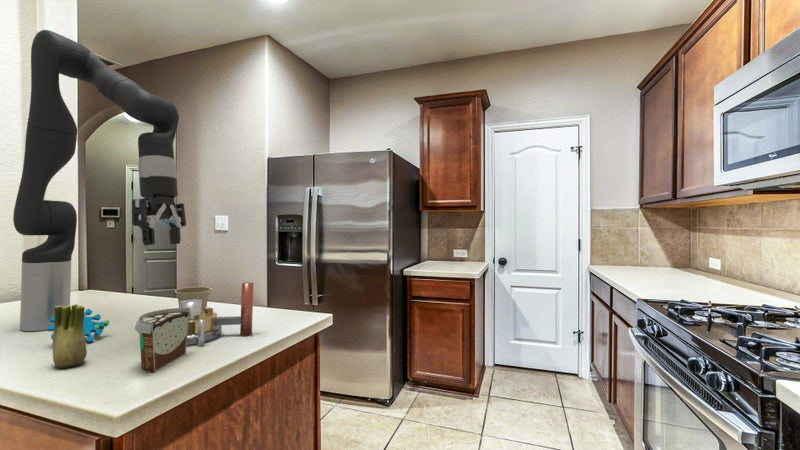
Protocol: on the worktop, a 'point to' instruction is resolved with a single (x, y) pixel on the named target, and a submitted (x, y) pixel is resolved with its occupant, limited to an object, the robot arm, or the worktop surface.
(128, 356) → the worktop surface
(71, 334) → the fennel bulb
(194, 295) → the flower pot
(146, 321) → the food container
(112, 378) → the worktop surface
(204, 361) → the worktop surface
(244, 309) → the reddish rod with blocks
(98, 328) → the blue spiky virus model
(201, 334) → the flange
